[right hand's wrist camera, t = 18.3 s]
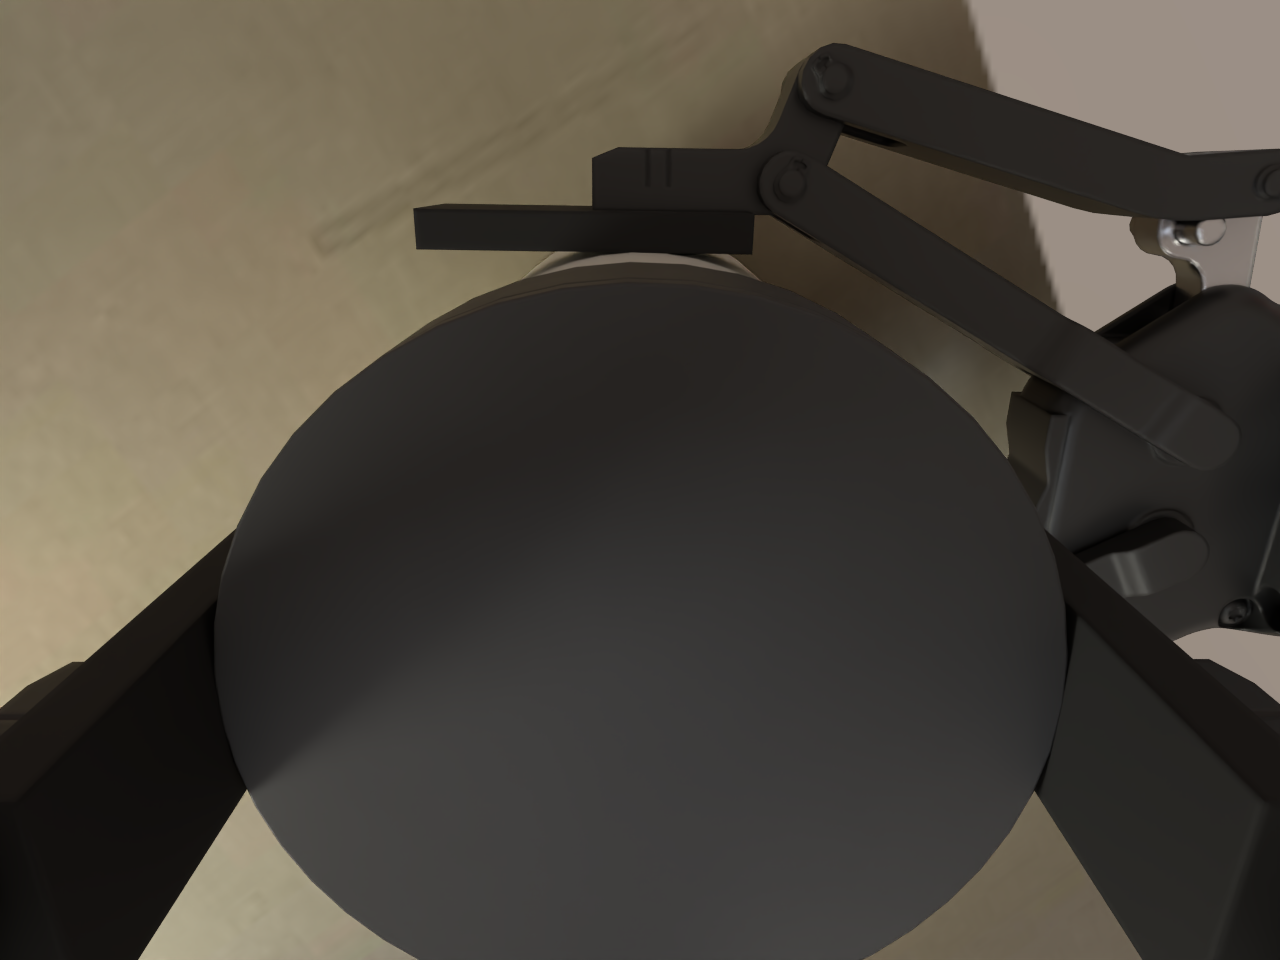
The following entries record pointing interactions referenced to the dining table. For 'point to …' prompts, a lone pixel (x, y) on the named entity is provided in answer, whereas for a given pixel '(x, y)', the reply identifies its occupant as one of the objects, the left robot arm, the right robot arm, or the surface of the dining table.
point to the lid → (640, 631)
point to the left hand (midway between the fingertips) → (448, 460)
